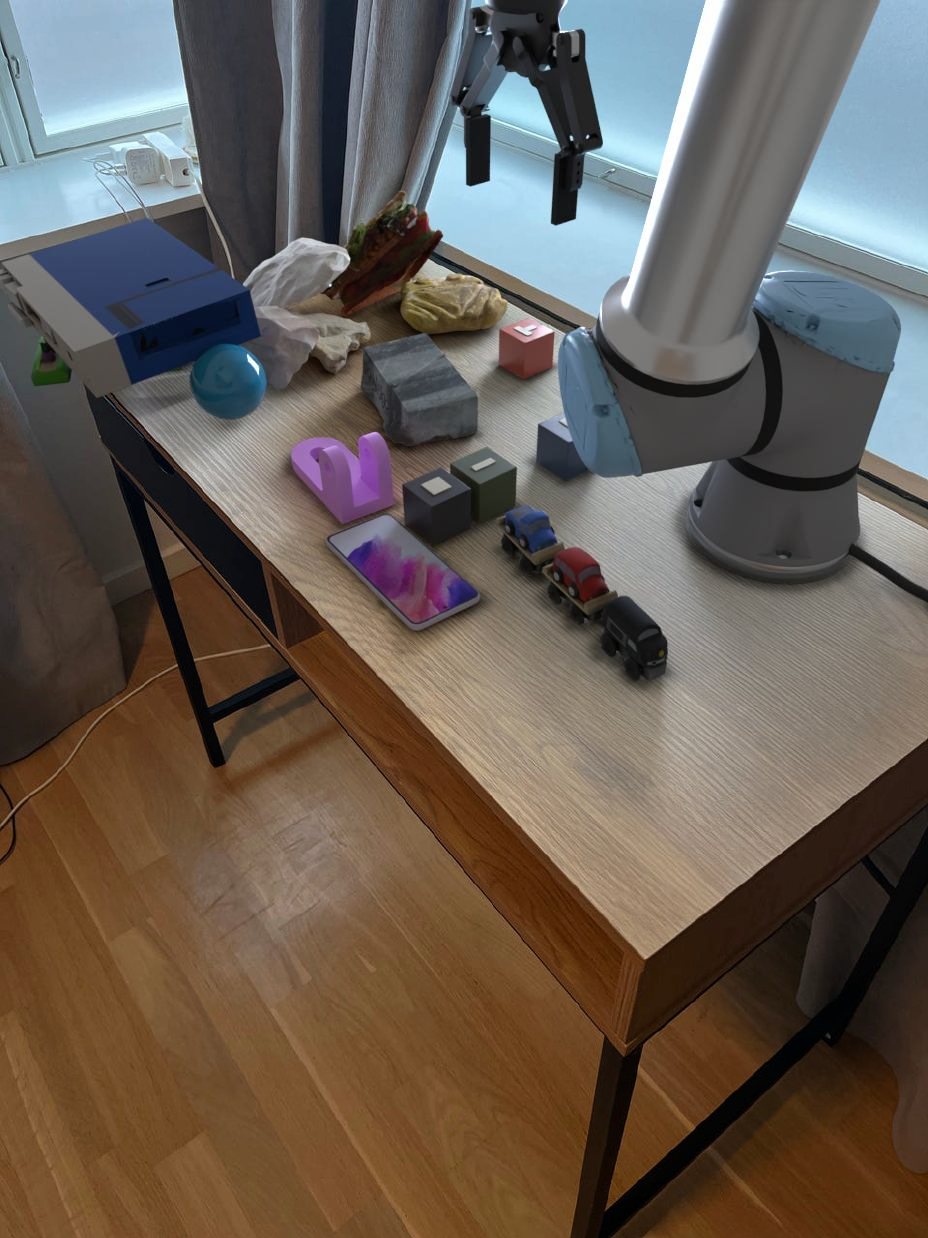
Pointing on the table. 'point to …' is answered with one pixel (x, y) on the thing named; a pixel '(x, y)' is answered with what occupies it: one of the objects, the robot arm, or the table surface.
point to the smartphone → (402, 571)
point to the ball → (228, 381)
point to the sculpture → (451, 304)
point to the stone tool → (281, 343)
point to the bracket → (346, 474)
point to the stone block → (418, 391)
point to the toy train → (585, 592)
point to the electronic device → (127, 304)
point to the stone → (335, 338)
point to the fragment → (296, 273)
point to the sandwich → (384, 255)
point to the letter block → (526, 347)
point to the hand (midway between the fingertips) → (518, 201)
